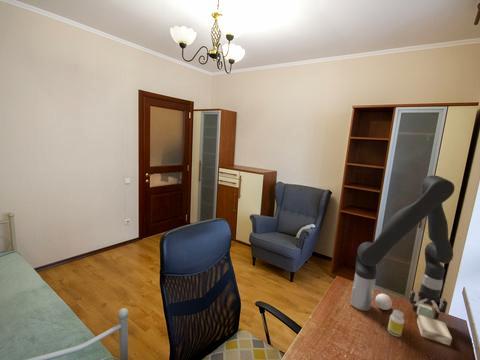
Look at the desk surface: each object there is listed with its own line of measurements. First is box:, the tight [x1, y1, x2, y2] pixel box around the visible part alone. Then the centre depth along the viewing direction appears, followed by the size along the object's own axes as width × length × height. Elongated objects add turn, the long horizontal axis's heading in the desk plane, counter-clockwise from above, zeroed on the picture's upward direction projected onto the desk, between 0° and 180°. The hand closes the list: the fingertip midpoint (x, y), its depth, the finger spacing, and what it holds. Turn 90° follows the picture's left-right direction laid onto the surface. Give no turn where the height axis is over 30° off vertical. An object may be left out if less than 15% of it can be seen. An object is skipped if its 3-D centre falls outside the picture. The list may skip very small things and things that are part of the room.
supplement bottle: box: [387, 309, 405, 337], centre depth 108 cm, size 5×5×10 cm
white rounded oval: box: [374, 293, 393, 311], centre depth 123 cm, size 10×7×7 cm
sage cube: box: [416, 303, 434, 319], centre depth 119 cm, size 5×5×5 cm
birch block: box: [416, 314, 453, 346], centre depth 110 cm, size 10×10×4 cm
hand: (424, 314), depth 119 cm, fingers open, 7 cm apart
